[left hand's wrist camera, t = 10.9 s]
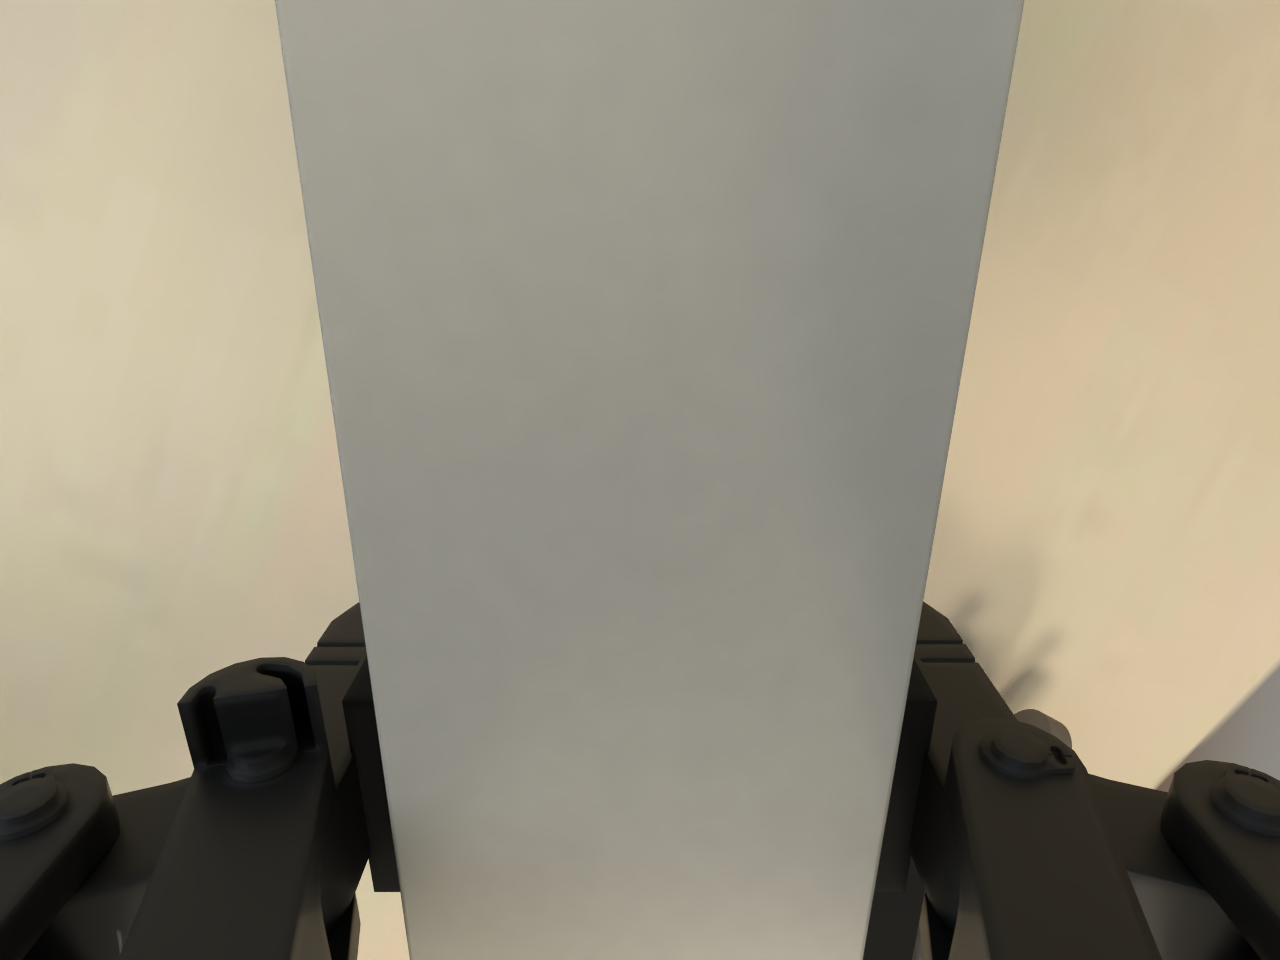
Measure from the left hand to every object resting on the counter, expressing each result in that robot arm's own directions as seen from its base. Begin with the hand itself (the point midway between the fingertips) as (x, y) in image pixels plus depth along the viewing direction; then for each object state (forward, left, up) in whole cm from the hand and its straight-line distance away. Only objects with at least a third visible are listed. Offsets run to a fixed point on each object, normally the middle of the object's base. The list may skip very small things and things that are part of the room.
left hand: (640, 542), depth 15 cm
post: (+30, -6, -1) cm, 30 cm away
